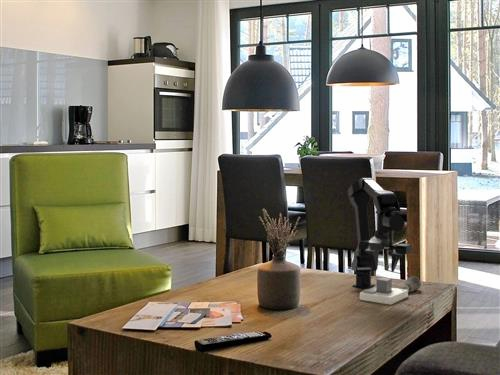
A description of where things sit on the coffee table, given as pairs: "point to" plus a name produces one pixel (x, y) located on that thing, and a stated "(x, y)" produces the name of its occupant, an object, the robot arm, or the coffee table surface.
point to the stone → (412, 284)
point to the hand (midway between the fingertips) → (384, 270)
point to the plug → (384, 285)
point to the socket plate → (383, 295)
